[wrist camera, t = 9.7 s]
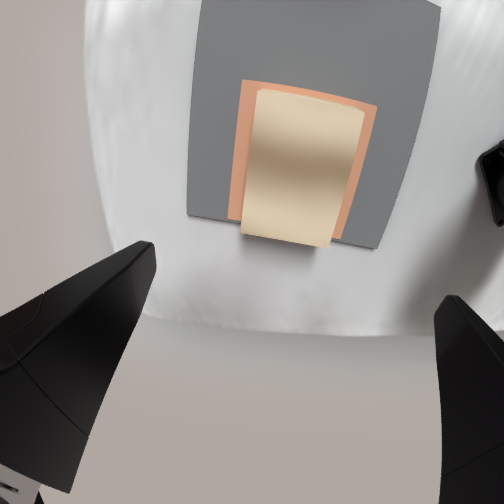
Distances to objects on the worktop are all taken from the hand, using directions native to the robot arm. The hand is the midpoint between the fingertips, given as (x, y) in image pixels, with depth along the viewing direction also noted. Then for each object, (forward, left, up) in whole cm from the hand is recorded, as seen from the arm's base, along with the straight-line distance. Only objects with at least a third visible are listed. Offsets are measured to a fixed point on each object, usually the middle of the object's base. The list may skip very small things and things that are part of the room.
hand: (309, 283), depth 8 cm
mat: (+3, -2, -12) cm, 12 cm away
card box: (0, +1, -11) cm, 11 cm away
